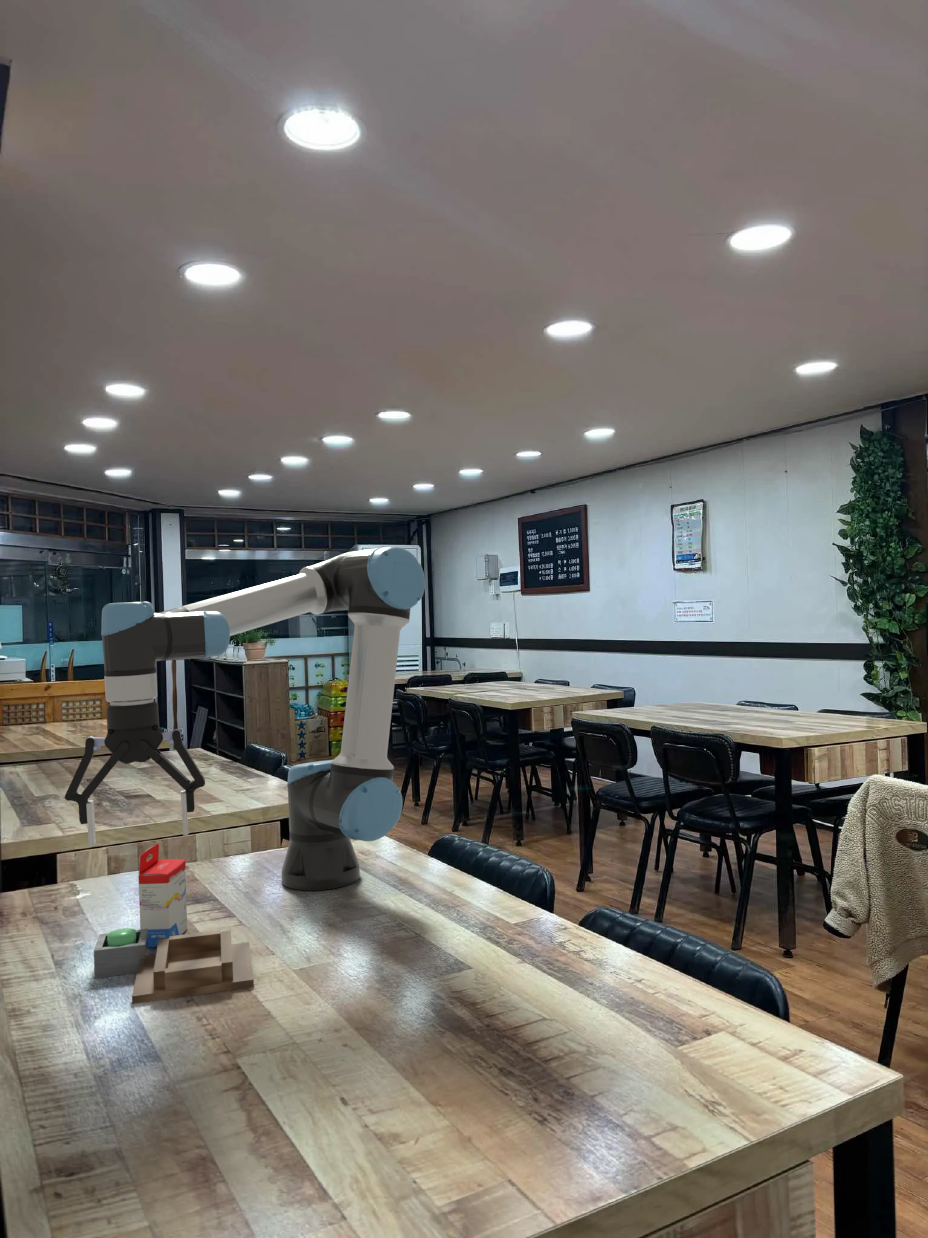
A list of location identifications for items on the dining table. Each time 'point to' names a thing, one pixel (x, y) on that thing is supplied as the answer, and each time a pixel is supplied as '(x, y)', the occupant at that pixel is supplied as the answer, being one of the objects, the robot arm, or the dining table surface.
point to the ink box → (162, 896)
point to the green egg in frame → (120, 955)
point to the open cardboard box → (193, 967)
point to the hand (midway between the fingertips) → (139, 839)
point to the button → (121, 937)
